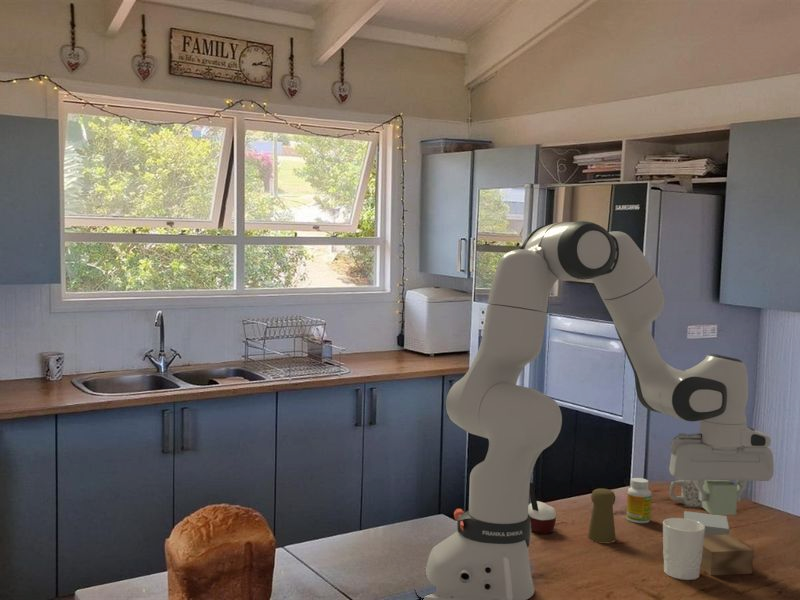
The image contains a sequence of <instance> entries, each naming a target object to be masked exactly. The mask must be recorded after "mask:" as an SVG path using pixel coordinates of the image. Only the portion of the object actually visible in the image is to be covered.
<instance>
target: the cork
mask: <svg viewBox="0 0 800 600" xmlns="http://www.w3.org/2000/svg"><path fill="white" fill-rule="evenodd" d="M590 496H591V498H590V499H591V502H592V503H593V505H592V510H591V511H592V512H591V517H590V522H589V530H588V533H587V534H588V535H587V538H588V539H589V540H590V539H591V540H593V541H592V542H594V541H597V542H596V543H598V542H612V541H614V540H615V539H616V537H617V536H616V529H615V520H614V519H615V518H614V508H613V507H614V504H615V502H616V494H615V492H614V491H613V490H612V489H608V488H596V489H593V490H592V493H591V495H590ZM591 540H590V541H591ZM616 540H617V539H616Z"/></svg>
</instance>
